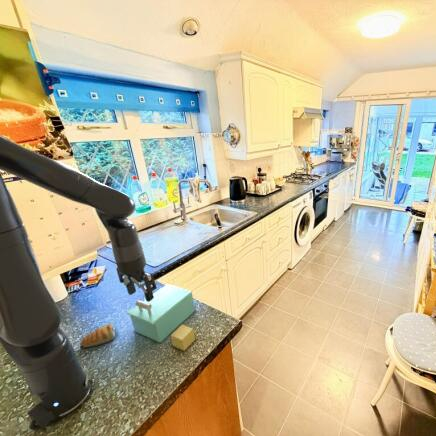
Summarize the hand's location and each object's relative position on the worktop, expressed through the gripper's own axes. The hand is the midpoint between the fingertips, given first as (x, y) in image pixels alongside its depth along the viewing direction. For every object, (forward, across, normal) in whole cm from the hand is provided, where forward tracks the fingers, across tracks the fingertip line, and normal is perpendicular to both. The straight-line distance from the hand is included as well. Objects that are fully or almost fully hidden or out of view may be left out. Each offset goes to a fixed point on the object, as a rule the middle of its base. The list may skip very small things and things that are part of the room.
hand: (141, 296), depth 79 cm
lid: (+8, 0, +6) cm, 10 cm away
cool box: (+17, 0, +6) cm, 18 cm away
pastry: (+17, -14, -8) cm, 23 cm away
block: (+16, +14, +2) cm, 22 cm away
